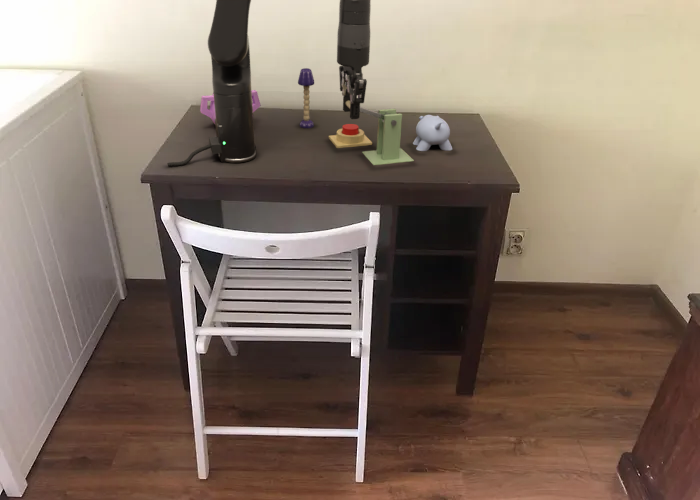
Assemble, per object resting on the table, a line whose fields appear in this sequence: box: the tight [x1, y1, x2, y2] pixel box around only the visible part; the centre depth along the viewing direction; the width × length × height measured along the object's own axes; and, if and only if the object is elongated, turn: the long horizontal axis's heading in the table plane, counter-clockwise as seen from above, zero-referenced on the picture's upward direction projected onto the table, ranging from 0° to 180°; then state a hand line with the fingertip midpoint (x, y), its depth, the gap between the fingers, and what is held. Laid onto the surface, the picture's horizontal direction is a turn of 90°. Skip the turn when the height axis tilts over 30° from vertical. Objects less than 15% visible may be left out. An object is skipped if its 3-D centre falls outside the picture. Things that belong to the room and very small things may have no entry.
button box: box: [328, 128, 373, 149], centre depth 163 cm, size 10×8×4 cm
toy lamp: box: [297, 67, 315, 129], centre depth 171 cm, size 5×5×17 cm
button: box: [341, 123, 360, 135], centre depth 162 cm, size 4×4×2 cm
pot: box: [199, 89, 262, 125], centre depth 171 cm, size 18×17×12 cm
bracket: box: [361, 108, 415, 166], centre depth 152 cm, size 11×9×13 cm
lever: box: [346, 100, 390, 122], centre depth 147 cm, size 13×5×2 cm, turn 108°
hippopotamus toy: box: [412, 114, 453, 152], centre depth 162 cm, size 11×15×10 cm
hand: (351, 114), depth 146 cm, fingers closed on lever, 5 cm apart
